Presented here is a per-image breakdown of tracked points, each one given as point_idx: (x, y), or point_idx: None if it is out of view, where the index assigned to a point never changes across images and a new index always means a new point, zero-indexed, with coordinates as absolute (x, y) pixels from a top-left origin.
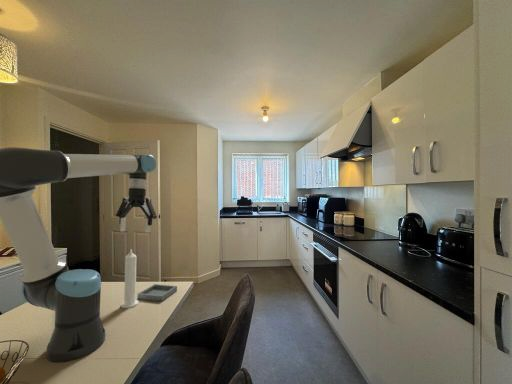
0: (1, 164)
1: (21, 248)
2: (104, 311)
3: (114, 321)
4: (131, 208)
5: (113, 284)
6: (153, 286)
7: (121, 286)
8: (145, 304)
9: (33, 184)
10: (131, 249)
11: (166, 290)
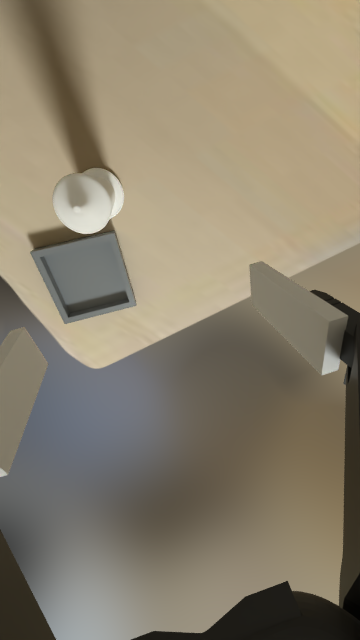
0: None
1: None
2: (122, 125)
3: (27, 83)
4: (343, 532)
5: None
6: (127, 294)
7: (232, 270)
8: None
9: None
10: (72, 207)
11: (88, 303)
